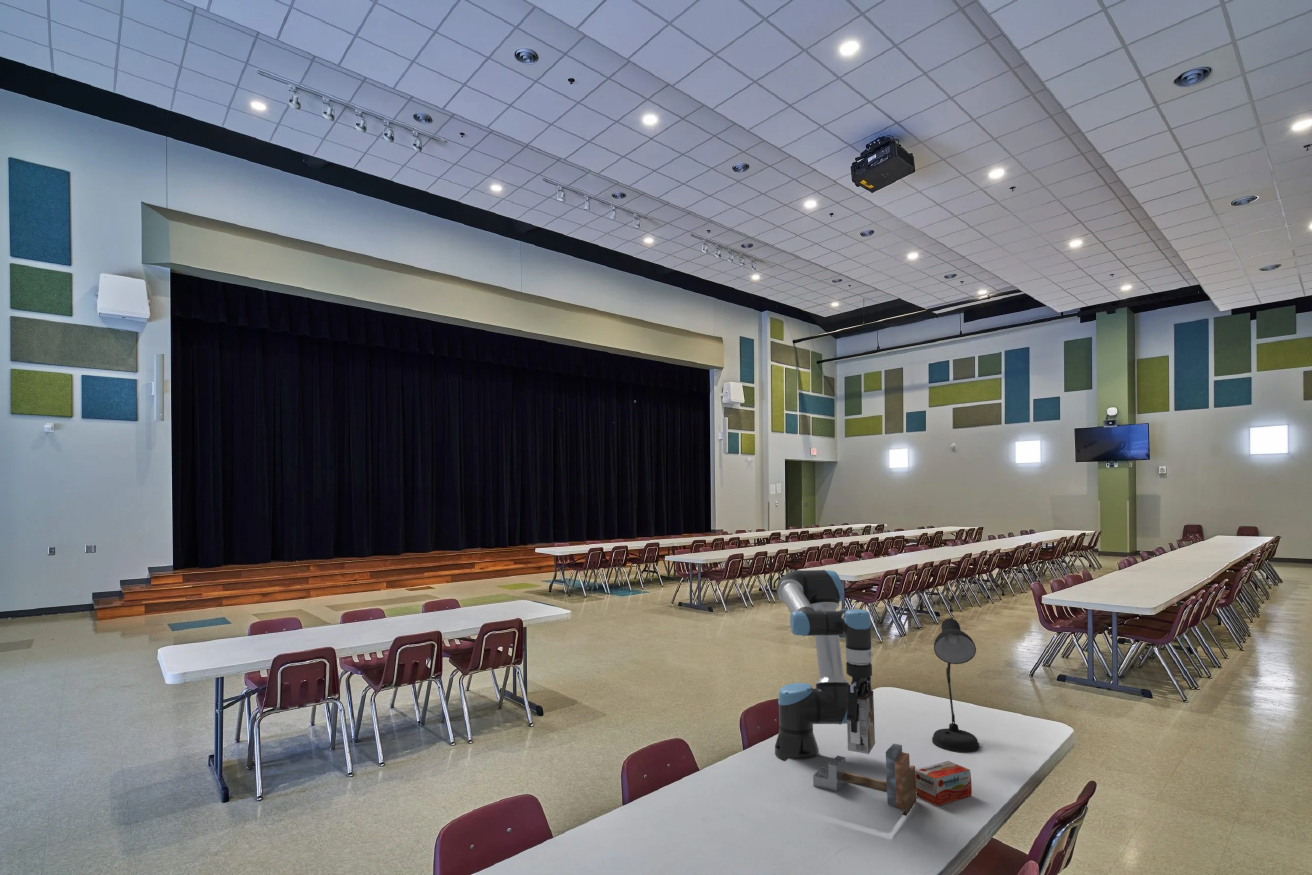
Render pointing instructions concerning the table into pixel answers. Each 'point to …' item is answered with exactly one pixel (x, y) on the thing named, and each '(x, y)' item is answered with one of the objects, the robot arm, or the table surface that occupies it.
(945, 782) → the medicine box
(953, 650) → the desk lamp
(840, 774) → the grey stepped block
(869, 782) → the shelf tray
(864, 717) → the coffee box
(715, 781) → the table surface
